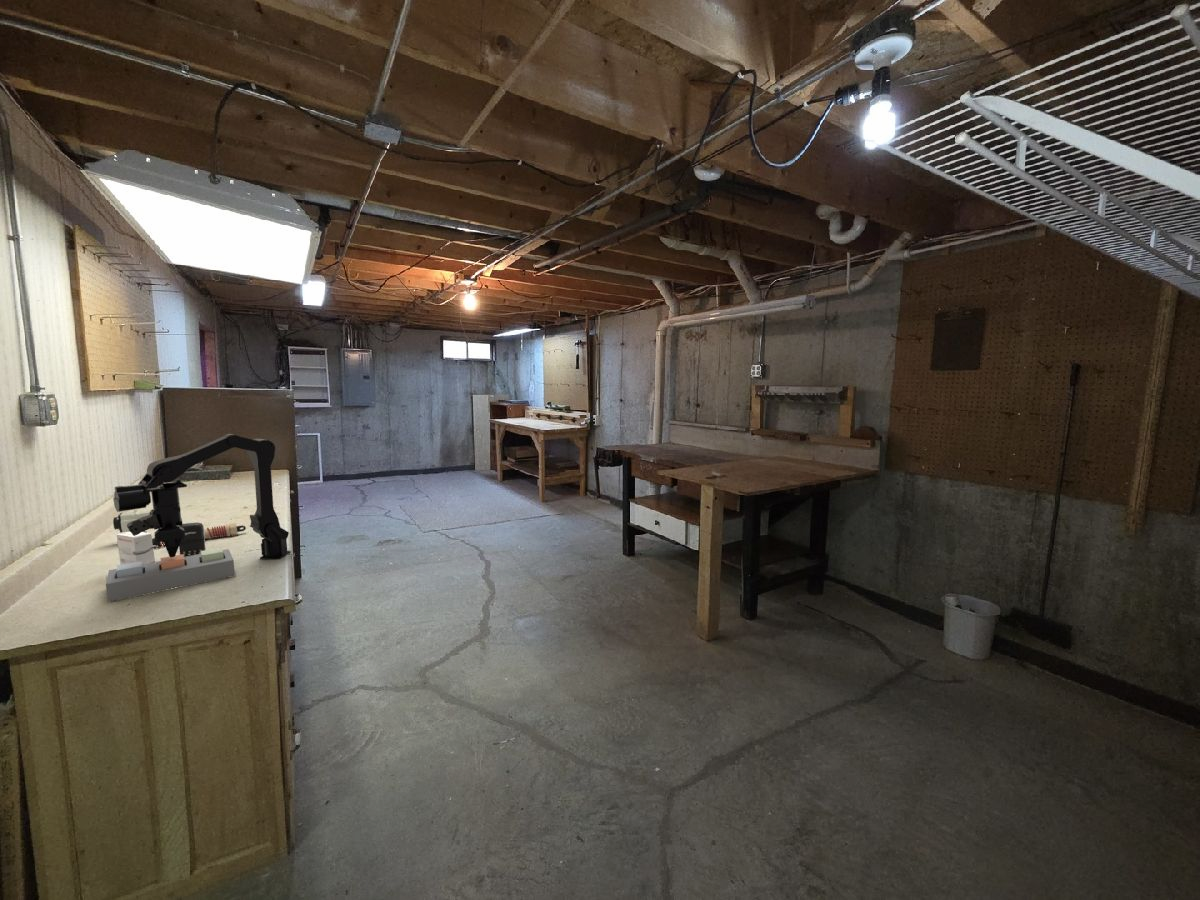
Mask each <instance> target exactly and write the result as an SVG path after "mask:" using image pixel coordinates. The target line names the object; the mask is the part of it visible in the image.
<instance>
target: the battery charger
mask: <svg viewBox="0 0 1200 900" xmlns="http://www.w3.org/2000/svg"><path fill="white" fill-rule="evenodd" d="M182 524H183V526H180V527H182V528H184V532H185V538H182V540H181V543H180V545H179V547H178V550H179V555H181V554H183V555H184V557H186V556H192V555H198V554H201V551H204V550H207V549H206V540H205V532H204V530H205V526H204V524H203V523H202V522H200V521H195V522H193V521H192V522H185V523H183V522H182Z"/></svg>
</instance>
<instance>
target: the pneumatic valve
mask: <svg viewBox="0 0 1200 900" xmlns="http://www.w3.org/2000/svg"><path fill="white" fill-rule="evenodd" d="M150 514H152V509H146V510H139V509H134V510H133V511H125V512H120V513H119V514H118V515H117V516H115V517H113V521H112V522H113V523H112V524H113V528H114V530H117V531H119V534H121V533H126V532H130V531H129V529H128V527H127V524H128V523H129V522H132V521H134V520H137V519H139V518H142V517H144V516H147V515H150ZM150 530H155V529H154V527H153V528H151V529H150ZM143 532H145V533H148V531H147V530H146V531H143Z"/></svg>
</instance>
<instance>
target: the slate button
mask: <svg viewBox="0 0 1200 900" xmlns="http://www.w3.org/2000/svg"><path fill="white" fill-rule="evenodd" d="M116 569H117V570H116V572H117V578H121V577H127V576H132V575H137V574H143V566H142V561H141V562H135V563H129V564H124V565H120V564H119V565H116Z"/></svg>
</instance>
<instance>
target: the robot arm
mask: <svg viewBox="0 0 1200 900" xmlns="http://www.w3.org/2000/svg"><path fill="white" fill-rule="evenodd" d="M233 448H236V449H240V450H244V451H247V453H248V456H249V459H250V462H251V463H252V465H253V470H254V484H255V485H254V486H255V499H256V500H255V502H256V503H255V504H256V509H255V513H254V514H250V515H249V520H250V525H249V527H250V528H252V530H253V532H254V533H256V534H258V535H260V538H261V543H260V549H261V555H260V557H259V558H260V559H261V560H263V559H265V560H268V559H271V560H275V559H282V558H283V557H285V556H287V555H288V554H290V553H291V550H288V540H287V539H288V536H289V534H290V533H289V531H287V530H286V529H284V528H282V527H281V524H280V520H279V517H278V514H277V513H276V511H275V509H274V498H273V497H274V496H273V495H274V494H273V493H274V492H273V481H272V479H273V478H272V464H273V462H274V460H275V455H276V445H275V443H274V442H272V441H271V440H269V439H263V438H254V439H251V438H247V437H243V436H239V435H238V434H232V433H227V434H225V435H223V436H221V437H219V438H217V439H214V440H212V441H210V442H208V443H205V444H203V445H200V446H198V447H196V448H194V449H191V450H189V451H186V452H184V453H183V454H179V455H176V456H169V457H166V458H162V459H158V460H155V461H152V462H151V463H149V464H148V466H147V468H146V474H145V475H144V476H143V477H142V478H141V480H140V481H139V482H138V483H137V484H133V485H132V484H131V485H117V486H115V487H114V493H113V498H112V499H113V505H114V508H115V511H116V512H117V513H119V512H120V513H122V512H128V511H134V510H136V509H137V510H139V509H146V508H147V506H149V505H150V504H151V503H152V509H151V510H152V514H150V515H147V516H144V517H142V518H139V519H137V520H134V521H132V522H129V523H128V524H127V527H128V529H129V531H130V532H131V533H132V535H133V536H135V535H138V534H140V533H141V532H143V531H146V532H147V531H148V530H152V529H151V528H153V527H154V529H153V530H154V531H155V530H156V531H155V532H154V538H155V542H161V543H162V542H164V544H165V546H164V547H165V549H166V551H167V554H168V557H175V555H176V554H177V552H178V550H179V545H180V543H181V540H182V538H185V532H184V528H182V527H180V526H183V519H182V513H181V512H182V511H181V503H180V496H179V489H180V488H182V489H183V488H187V487H188V485H187V484H186V483H184V482H182V481H181V479H179V477H181V476H182V475H184V474H185V473H186V472H187V471H188V470H189V469H191V468H193V467H194V466H196V465H198V464H201V463H202V462H205V461H207V460H209V459H211V458H213V457H216V456H218V455H220V454H223V453H224V452H226V451H228V450H231V449H233Z"/></svg>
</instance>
